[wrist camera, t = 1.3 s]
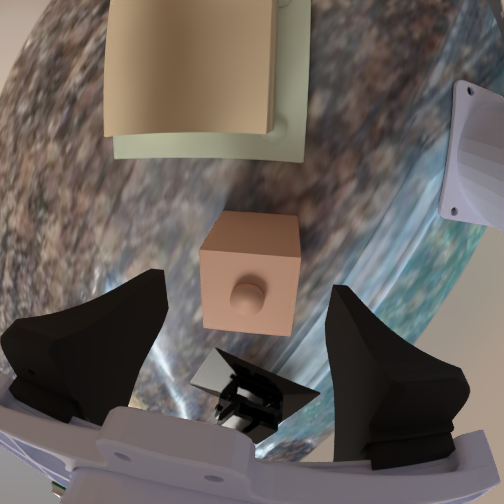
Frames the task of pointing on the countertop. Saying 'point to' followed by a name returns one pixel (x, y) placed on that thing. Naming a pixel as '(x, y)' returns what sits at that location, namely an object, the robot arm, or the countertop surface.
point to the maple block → (190, 66)
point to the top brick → (250, 273)
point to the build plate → (285, 109)
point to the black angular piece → (249, 395)
